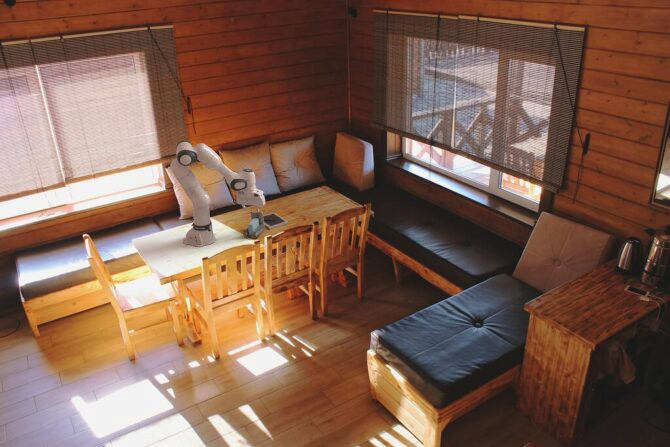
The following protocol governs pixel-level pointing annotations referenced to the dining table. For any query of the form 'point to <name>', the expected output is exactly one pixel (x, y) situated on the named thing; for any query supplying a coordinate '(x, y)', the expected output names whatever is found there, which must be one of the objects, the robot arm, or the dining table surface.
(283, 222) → the picture frame
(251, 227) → the book
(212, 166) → the robot arm
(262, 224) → the book rack
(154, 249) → the dining table surface
